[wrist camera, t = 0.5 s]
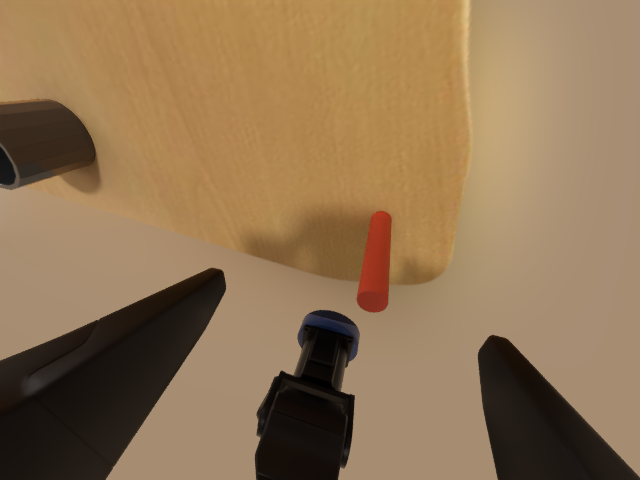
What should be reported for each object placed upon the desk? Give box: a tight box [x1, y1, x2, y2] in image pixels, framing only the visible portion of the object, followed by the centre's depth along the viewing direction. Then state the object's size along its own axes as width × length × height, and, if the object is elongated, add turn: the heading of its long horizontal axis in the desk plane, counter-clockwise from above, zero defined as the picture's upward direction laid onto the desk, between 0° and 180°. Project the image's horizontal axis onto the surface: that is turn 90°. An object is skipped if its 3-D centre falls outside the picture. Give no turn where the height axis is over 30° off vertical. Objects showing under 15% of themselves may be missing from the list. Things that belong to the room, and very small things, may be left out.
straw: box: [357, 211, 391, 312], centre depth 17 cm, size 2×2×9 cm
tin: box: [0, 99, 95, 190], centre depth 21 cm, size 6×6×6 cm
